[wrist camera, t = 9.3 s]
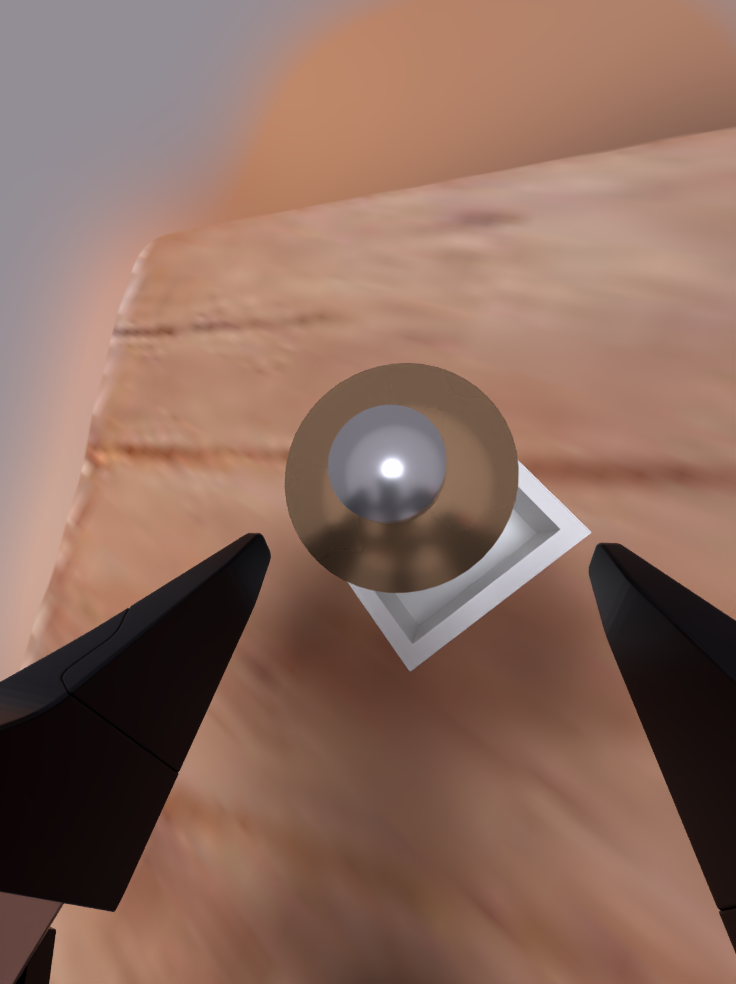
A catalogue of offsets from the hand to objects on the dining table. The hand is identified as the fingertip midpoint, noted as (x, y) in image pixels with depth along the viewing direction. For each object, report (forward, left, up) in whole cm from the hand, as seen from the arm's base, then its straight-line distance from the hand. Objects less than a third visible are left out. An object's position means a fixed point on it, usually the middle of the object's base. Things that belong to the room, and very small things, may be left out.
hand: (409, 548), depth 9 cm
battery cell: (+1, +1, -9) cm, 10 cm away
